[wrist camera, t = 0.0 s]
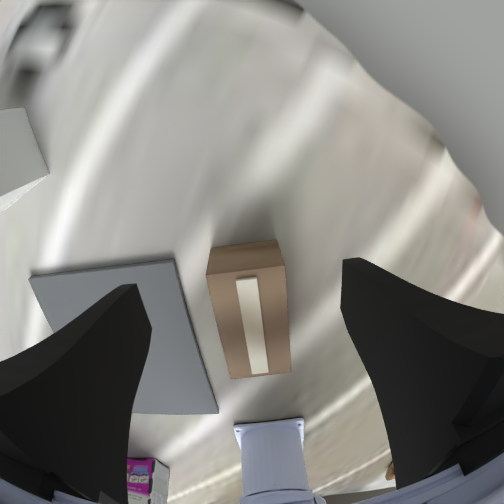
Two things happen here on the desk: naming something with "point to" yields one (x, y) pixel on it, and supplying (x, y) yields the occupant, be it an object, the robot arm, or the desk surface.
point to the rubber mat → (162, 338)
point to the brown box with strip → (251, 307)
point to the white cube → (18, 157)
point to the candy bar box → (147, 481)
